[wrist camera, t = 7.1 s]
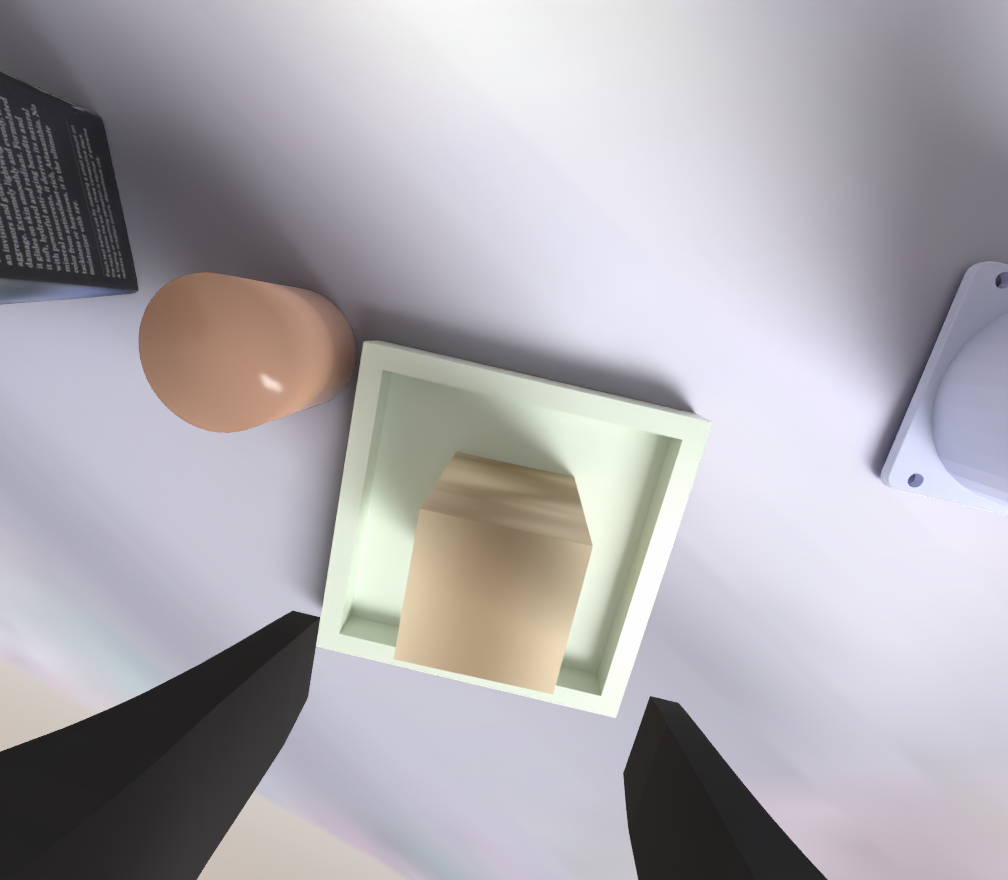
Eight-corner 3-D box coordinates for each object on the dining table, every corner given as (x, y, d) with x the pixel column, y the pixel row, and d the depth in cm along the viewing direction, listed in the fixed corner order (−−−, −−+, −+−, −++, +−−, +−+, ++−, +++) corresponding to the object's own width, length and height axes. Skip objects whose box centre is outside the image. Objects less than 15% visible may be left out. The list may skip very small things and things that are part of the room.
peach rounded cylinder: (364, 302, 18) (301, 292, 13) (347, 417, 19) (282, 447, 14) (248, 275, 18) (142, 255, 13) (237, 392, 19) (134, 413, 14)
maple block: (574, 477, 18) (592, 546, 12) (547, 584, 19) (553, 694, 13) (456, 452, 18) (419, 508, 12) (436, 559, 19) (393, 659, 14)
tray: (695, 413, 18) (713, 422, 16) (608, 685, 21) (615, 718, 19) (380, 340, 18) (363, 341, 16) (334, 619, 21) (316, 646, 19)
